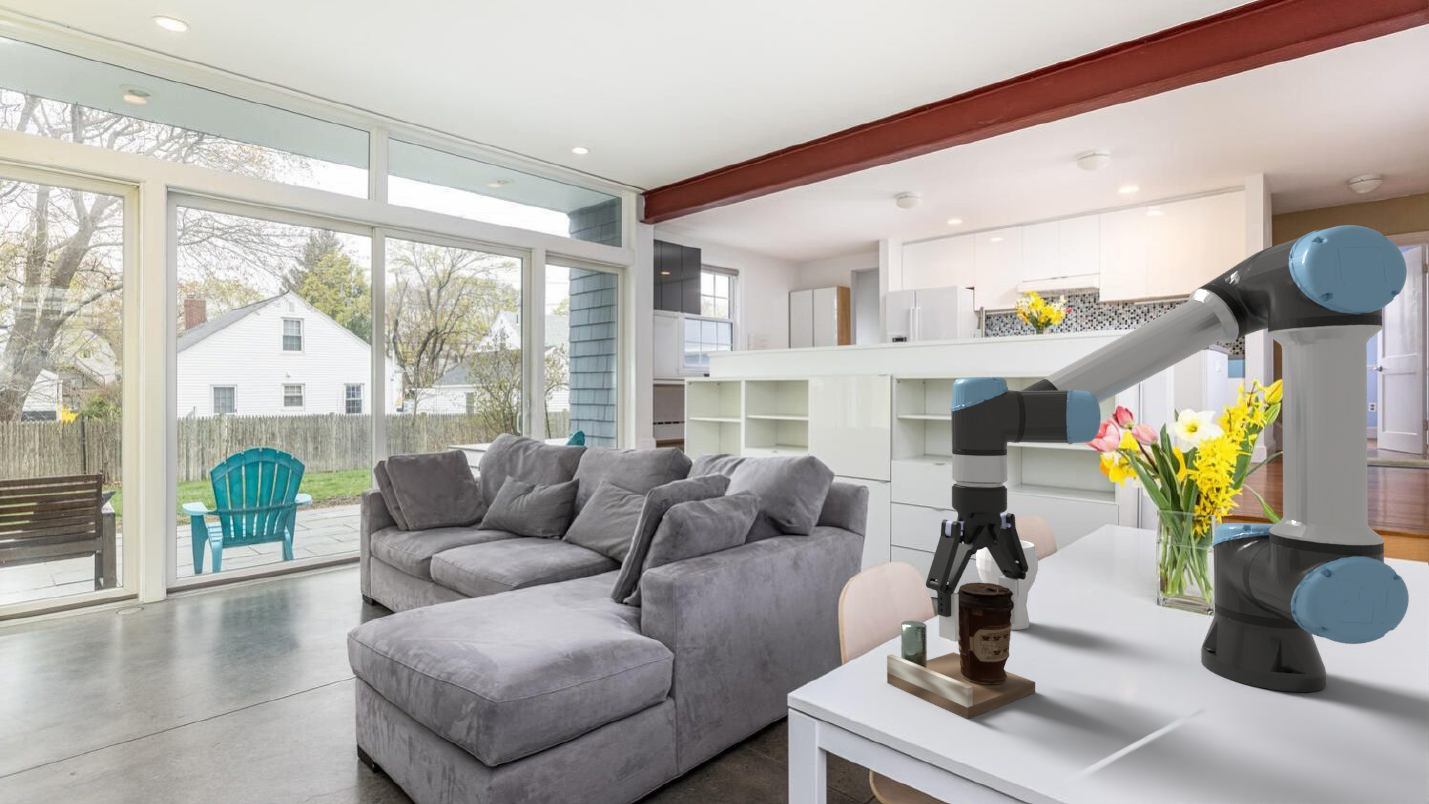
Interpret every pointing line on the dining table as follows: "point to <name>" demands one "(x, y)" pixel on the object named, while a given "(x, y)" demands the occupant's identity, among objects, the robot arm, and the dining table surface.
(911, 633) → the green cylinder
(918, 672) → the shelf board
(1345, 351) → the robot arm
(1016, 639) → the dining table surface
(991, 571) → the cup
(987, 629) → the coffee cup
